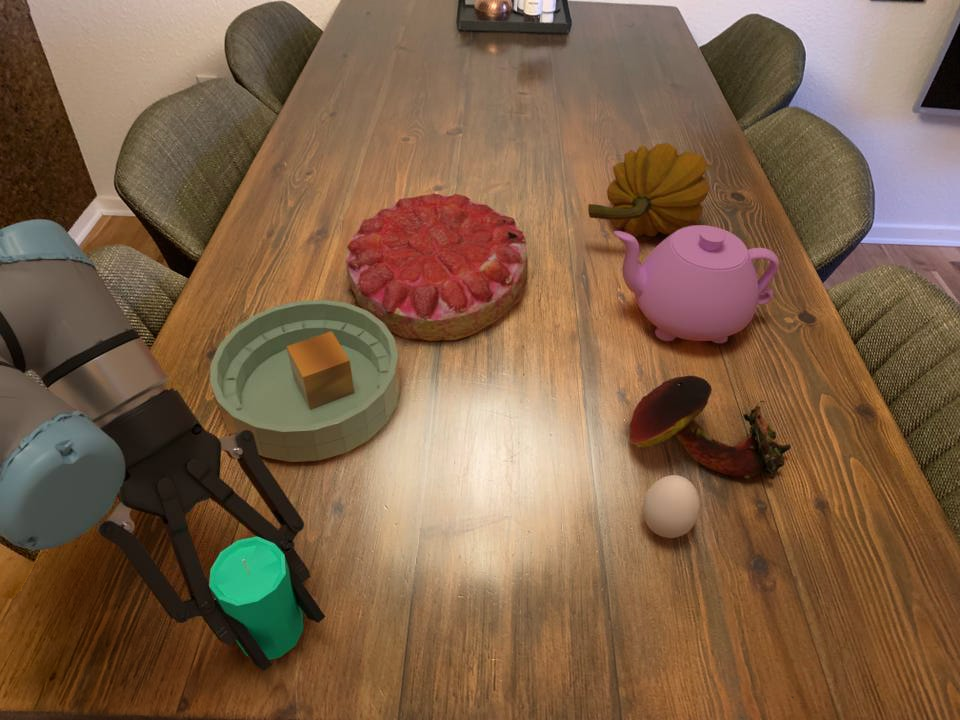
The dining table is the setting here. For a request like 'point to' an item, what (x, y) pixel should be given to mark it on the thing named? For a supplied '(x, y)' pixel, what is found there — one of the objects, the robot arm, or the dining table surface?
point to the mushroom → (675, 414)
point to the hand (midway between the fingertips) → (290, 640)
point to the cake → (437, 266)
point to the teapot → (698, 283)
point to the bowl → (275, 395)
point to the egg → (671, 506)
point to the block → (321, 369)
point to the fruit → (655, 191)
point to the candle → (258, 594)
